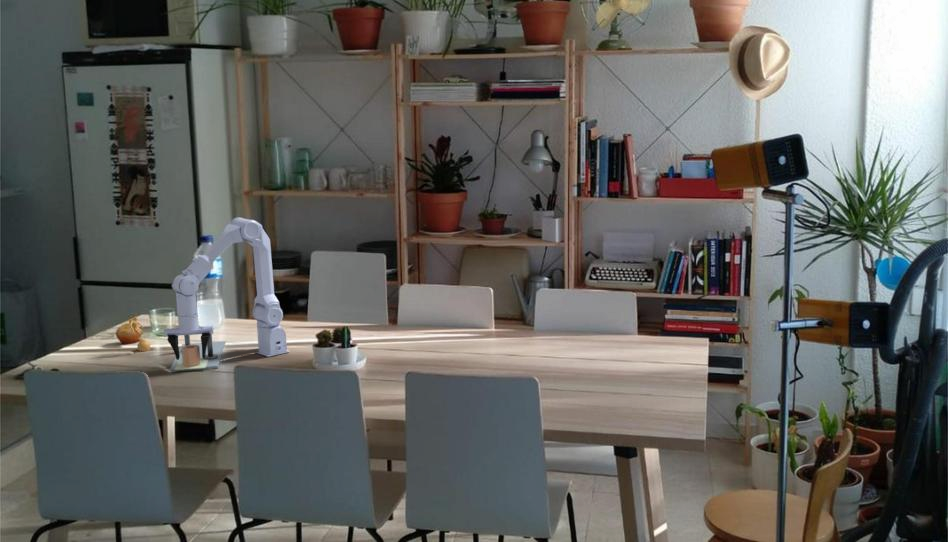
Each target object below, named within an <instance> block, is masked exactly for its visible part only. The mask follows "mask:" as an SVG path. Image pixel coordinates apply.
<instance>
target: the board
mask: <svg viewBox="0 0 948 542" xmlns="http://www.w3.org/2000/svg"><path fill="white" fill-rule="evenodd" d="M226 342H227V341H226V340H225V341H224V340H223V341H212V346H213V354H217V355H218V358H216V359H212V360H208V362H207V365H206V368H199V369H184V370H174V369H175V367H176V365H177V363H178V361H182V352H181V347H183V346H185V343H182V344H181V346H180V347H179V354H180V358H179V360H176V357H175V358H174V360H173V363H172V365H171V366H170V368H169V372H170V373H171V372H173V373H174V372H185V371H202V370H203V371H204V370H215V369H216V370H217V369H219V366H220V364H221V360H222V359H221V357H222V354H223V351H224V349H225V345H226ZM190 345H198V346H199V349H200V360H205V359H204V358H202V344H201V342H194V343H191V342H190ZM206 355H208V350H207V348H206Z"/></svg>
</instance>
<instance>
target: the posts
mask: <svg viewBox="0 0 948 542" xmlns="http://www.w3.org/2000/svg"><path fill="white" fill-rule="evenodd" d="M183 336H184V344H185V345H190V343H191V337H190V336H191V335H183ZM212 336H213V334H211V335H210V337H209V340H208V343H207V350H208V355H206V356H205V358H204V359H205V360H207V359H208V360H212V359H216V358H218V355H217V354H213V346H212V342H213V337H212ZM181 352H182V350H181Z"/></svg>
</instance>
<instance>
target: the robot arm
mask: <svg viewBox="0 0 948 542" xmlns="http://www.w3.org/2000/svg"><path fill="white" fill-rule="evenodd" d="M243 242H246V243H247V244H249V245H250V246H251V247H252V249H253V261H254V272H255V273H254V274H255V283H256V284H255V286H256V296H255V298H254V299H253V300H254V301H253V302H254V305H253V309H252V317H253V318H254V319H255V320H256V329H257V347H258V348H257V349H258V350H256V351H255V353H257V354H259V355H263V356H265V357H267V358H268V357H273V356H278V355H281V354H286V353H290V350H289V349H288V344H287V334H286V331H285V330H284V328H282V327H281V322H282V320H283V318H284V312H283V309H282V308H281V306H280V301H279V299H278V297H277V296H276V295H275V286H274V285H275V284H274V276H273V275H274V273H273V262H272V247H271V239H270V237H269V236H268V234H267V233H266V232H265V230H264V228H263V225H262V224H261V223H259V221H256V220H255V219H248V218H243V217H241V216H240V217H235V218H233V219H232V220H231V221H230V223H228V224H227V225H226V226H225V228H224V230H222V232H221V234H220V235H219V236H218V238H217V239H216V240H215V241H214V243H212V245H211V246H210V247H209V249H208V250H207V251H206V252H205V254H203V255H202V254H201V255H197V257H195V256H194V257H192V259H191V260H192V262H191V263H190V265H188V267H187V268H186V269H184V270H182V271H181V273H182V274H179V275H177V276H175V278H174V279H173V282H172V284H171V288H172V289H173V291H174V292H175V296H176V311H177V324H178V327H174V328H165V329H163V337H164V338H166V339H167V342H168V343H169V345H170V346H171V349H172V350H173V352H174V355H175V358H176V360H179V358H180V354H179V350H180V347H179V336H184V335H190V336H193V335H200V343H201V344H202V358H205V356H206V348H207V343H208V340H209V337H210V335H211V334H212V335H214V333H215V330H214V329H215V327H214V326H202V325H201V326H199V318H198V307H197V297H196V296H197V295H196V293H197V292H198V290H199V286H200V283H201V282H202V281H203V280H204V279H205V278H206V277H207V275H208V274H210V272H211V271H212V270H213V269H214V262H215V261H216V260H217V259H218V258H219V257H220V256H221V255H222V254H223V253H224V252H225V251H226V250H227V249H228V248H229V247H230V246H231V245H232V244H238V243H243Z"/></svg>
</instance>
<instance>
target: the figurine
mask: <svg viewBox="0 0 948 542" xmlns="http://www.w3.org/2000/svg"><path fill="white" fill-rule="evenodd" d="M128 323H130V328H131V329H132V331H133V334H135V333H137V334H139V335H138V336H137V337H138V339H139V341H140V342H137V350H138V352H148V351H150V349H151V343H150V342H149V341H147V340H146V339H144V338H142V335H143V334H144V331H143V330H142V329H144V327H143V326H142V324H141V323H139V321H138V316H134V317H132V318H129V320H128ZM137 325H138V326H139V327H141V328H140V329H141V330H140V329H139V327H137ZM132 327H133V328H132ZM133 329H134V330H133ZM134 331H135V332H134Z"/></svg>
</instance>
